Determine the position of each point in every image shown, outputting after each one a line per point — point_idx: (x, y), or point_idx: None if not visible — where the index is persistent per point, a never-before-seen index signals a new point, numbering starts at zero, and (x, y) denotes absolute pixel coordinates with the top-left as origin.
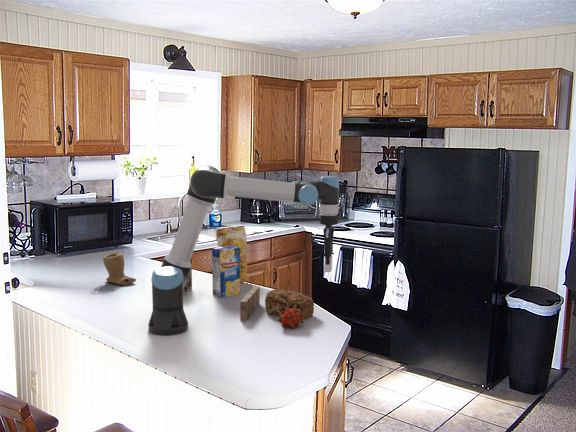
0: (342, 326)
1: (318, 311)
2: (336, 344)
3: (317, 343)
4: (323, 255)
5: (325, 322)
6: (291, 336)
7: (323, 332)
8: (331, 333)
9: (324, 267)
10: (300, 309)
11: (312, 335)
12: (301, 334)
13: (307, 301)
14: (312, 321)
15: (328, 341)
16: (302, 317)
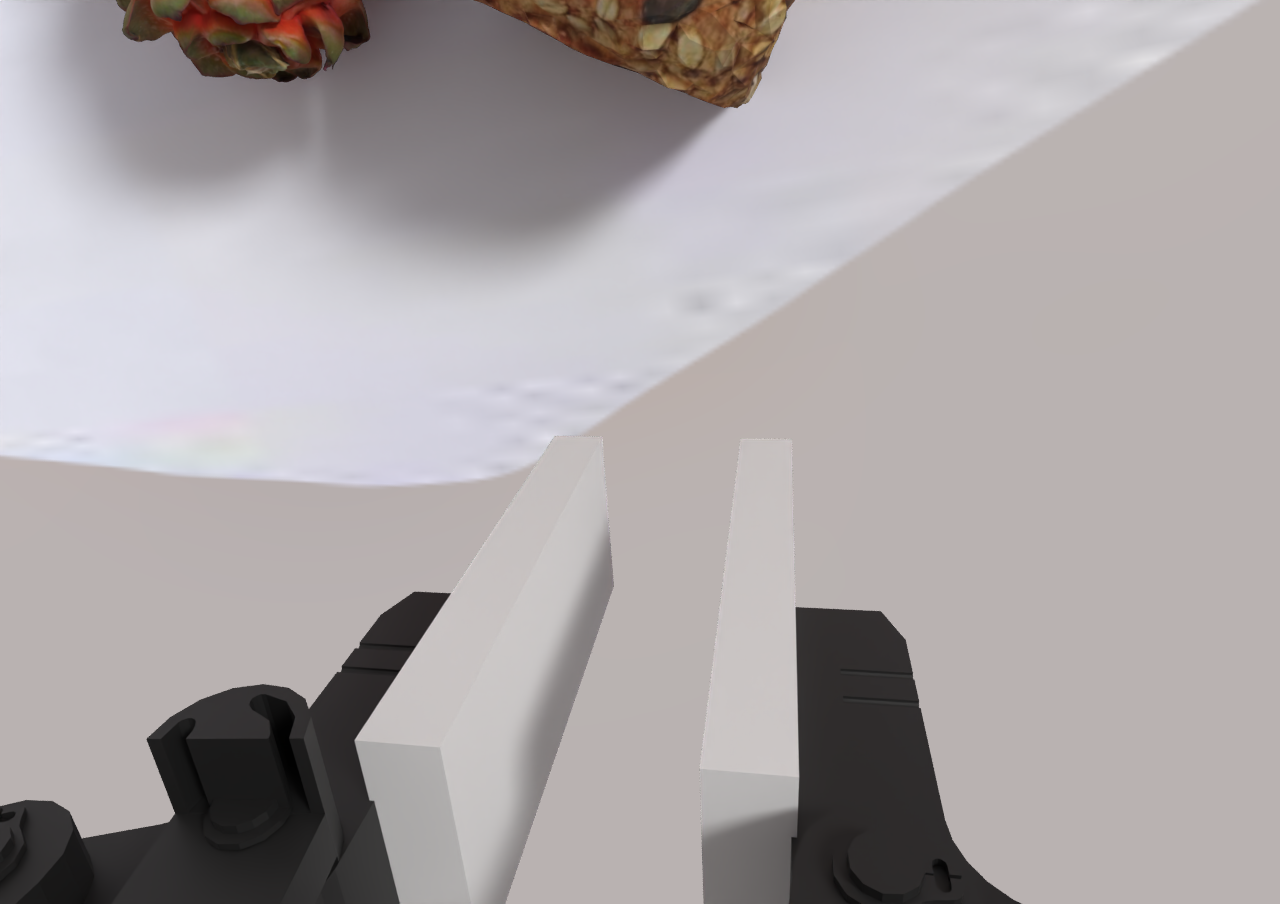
0: (486, 444)
1: (941, 127)
2: (69, 433)
3: (9, 288)
4: (167, 753)
5: (549, 276)
6: (30, 7)
7: (269, 299)
8: (275, 370)
9: (523, 492)
10: (218, 6)
11: (153, 212)
12: (127, 99)
13: (549, 33)
14: (540, 129)
15: (94, 368)
16: (196, 64)
